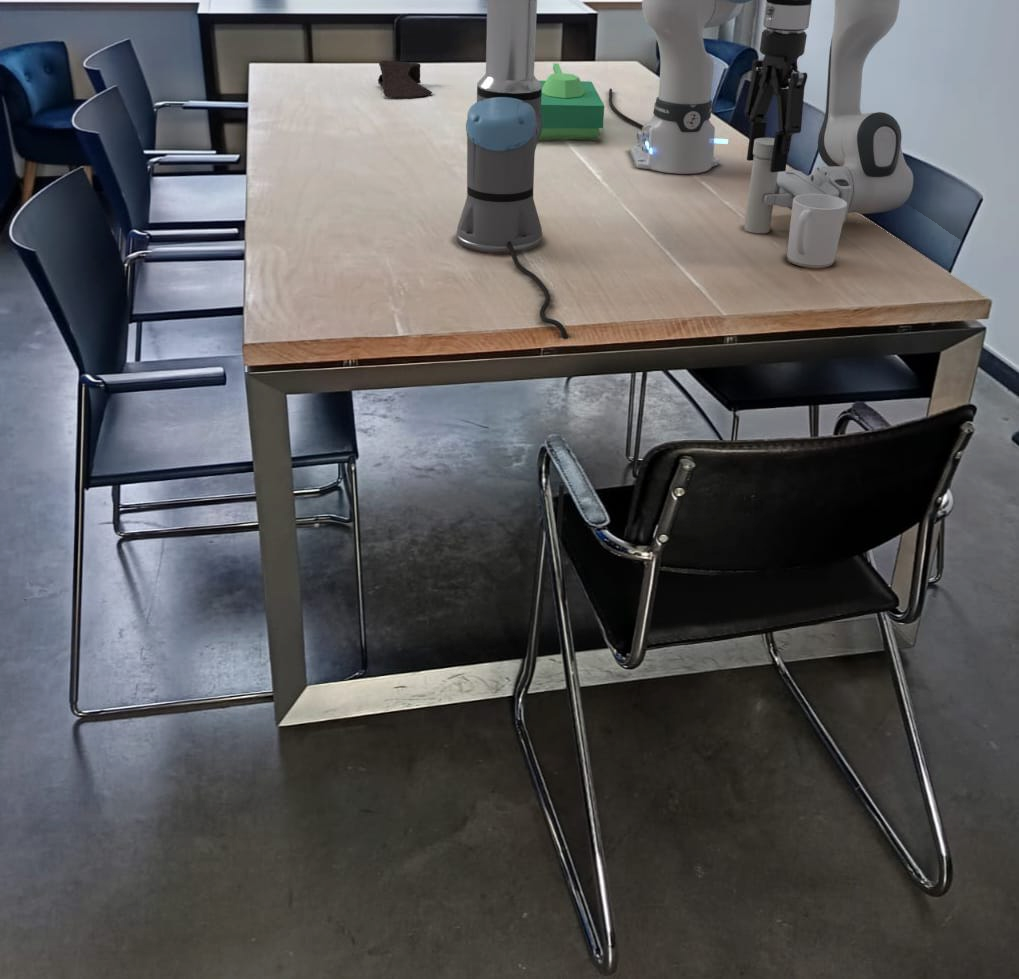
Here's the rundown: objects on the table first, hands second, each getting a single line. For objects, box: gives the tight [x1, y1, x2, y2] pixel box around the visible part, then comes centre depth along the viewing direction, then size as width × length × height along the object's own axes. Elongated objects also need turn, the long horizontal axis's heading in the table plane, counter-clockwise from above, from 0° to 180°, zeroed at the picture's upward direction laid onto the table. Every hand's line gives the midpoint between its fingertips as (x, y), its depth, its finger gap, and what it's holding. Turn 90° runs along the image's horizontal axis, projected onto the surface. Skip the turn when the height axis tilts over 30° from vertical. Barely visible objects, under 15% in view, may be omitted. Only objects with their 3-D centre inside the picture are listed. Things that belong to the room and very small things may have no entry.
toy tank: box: [538, 63, 605, 141], centre depth 267 cm, size 18×12×35 cm
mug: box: [786, 194, 847, 269], centre depth 186 cm, size 11×9×10 cm
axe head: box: [377, 59, 433, 99], centre depth 299 cm, size 18×8×15 cm
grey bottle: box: [743, 155, 778, 234], centre depth 200 cm, size 5×5×16 cm
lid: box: [753, 137, 775, 158], centre depth 196 cm, size 5×5×2 cm
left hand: (765, 165), depth 198 cm, fingers open, 7 cm apart
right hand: (757, 194), depth 200 cm, fingers closed on grey bottle, 5 cm apart
